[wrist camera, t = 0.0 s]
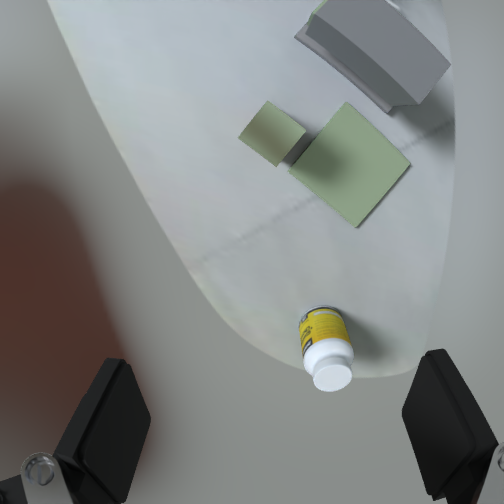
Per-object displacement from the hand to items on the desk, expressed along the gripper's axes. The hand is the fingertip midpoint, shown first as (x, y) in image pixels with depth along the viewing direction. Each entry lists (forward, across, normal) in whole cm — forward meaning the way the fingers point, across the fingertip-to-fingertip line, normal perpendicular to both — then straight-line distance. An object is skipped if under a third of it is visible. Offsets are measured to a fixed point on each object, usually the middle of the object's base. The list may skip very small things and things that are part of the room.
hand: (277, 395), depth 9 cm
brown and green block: (+31, 0, -7) cm, 32 cm away
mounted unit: (+31, -11, -16) cm, 37 cm away
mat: (+31, -10, -2) cm, 33 cm away
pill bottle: (+31, -7, +20) cm, 38 cm away
